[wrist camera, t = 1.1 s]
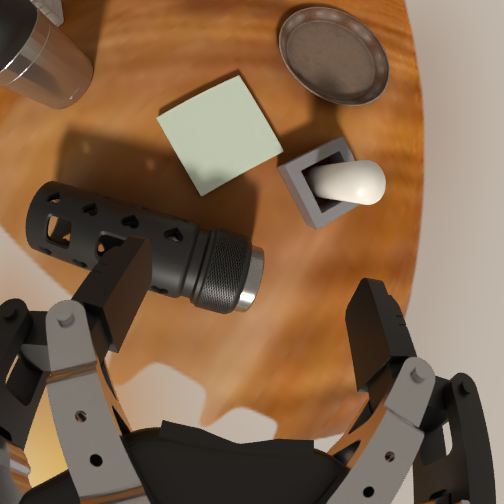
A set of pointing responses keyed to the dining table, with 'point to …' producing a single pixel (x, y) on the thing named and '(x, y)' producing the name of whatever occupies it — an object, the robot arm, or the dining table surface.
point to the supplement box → (51, 10)
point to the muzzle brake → (162, 246)
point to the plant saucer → (334, 56)
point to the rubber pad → (219, 134)
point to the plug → (348, 181)
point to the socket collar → (300, 189)
